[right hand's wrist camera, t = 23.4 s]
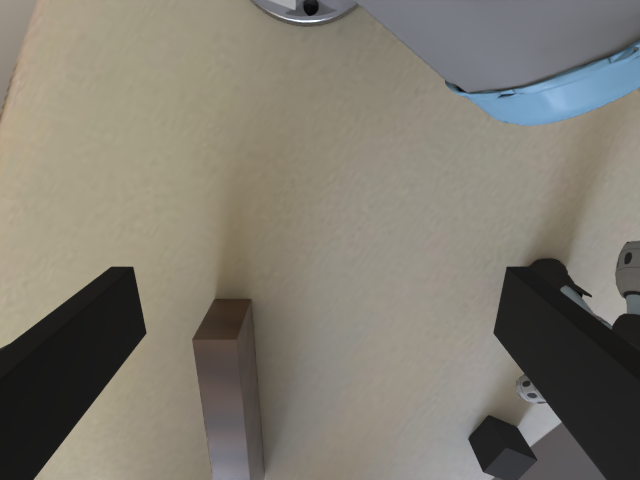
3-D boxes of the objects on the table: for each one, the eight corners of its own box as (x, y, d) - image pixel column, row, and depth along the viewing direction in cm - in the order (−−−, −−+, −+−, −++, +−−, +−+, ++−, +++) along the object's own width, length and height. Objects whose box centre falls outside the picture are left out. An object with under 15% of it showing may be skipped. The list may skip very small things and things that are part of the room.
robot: (568, 206, 39) (801, 297, 20) (604, 223, 40) (861, 327, 21) (472, 343, 45) (580, 511, 26) (504, 356, 46) (632, 528, 27)
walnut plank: (214, 299, 43) (192, 339, 36) (251, 299, 43) (236, 339, 36) (234, 474, 53) (220, 534, 46) (264, 474, 53) (255, 534, 46)
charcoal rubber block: (488, 415, 49) (506, 447, 45) (517, 427, 50) (537, 460, 46) (467, 438, 51) (482, 472, 46) (496, 450, 52) (513, 484, 47)
